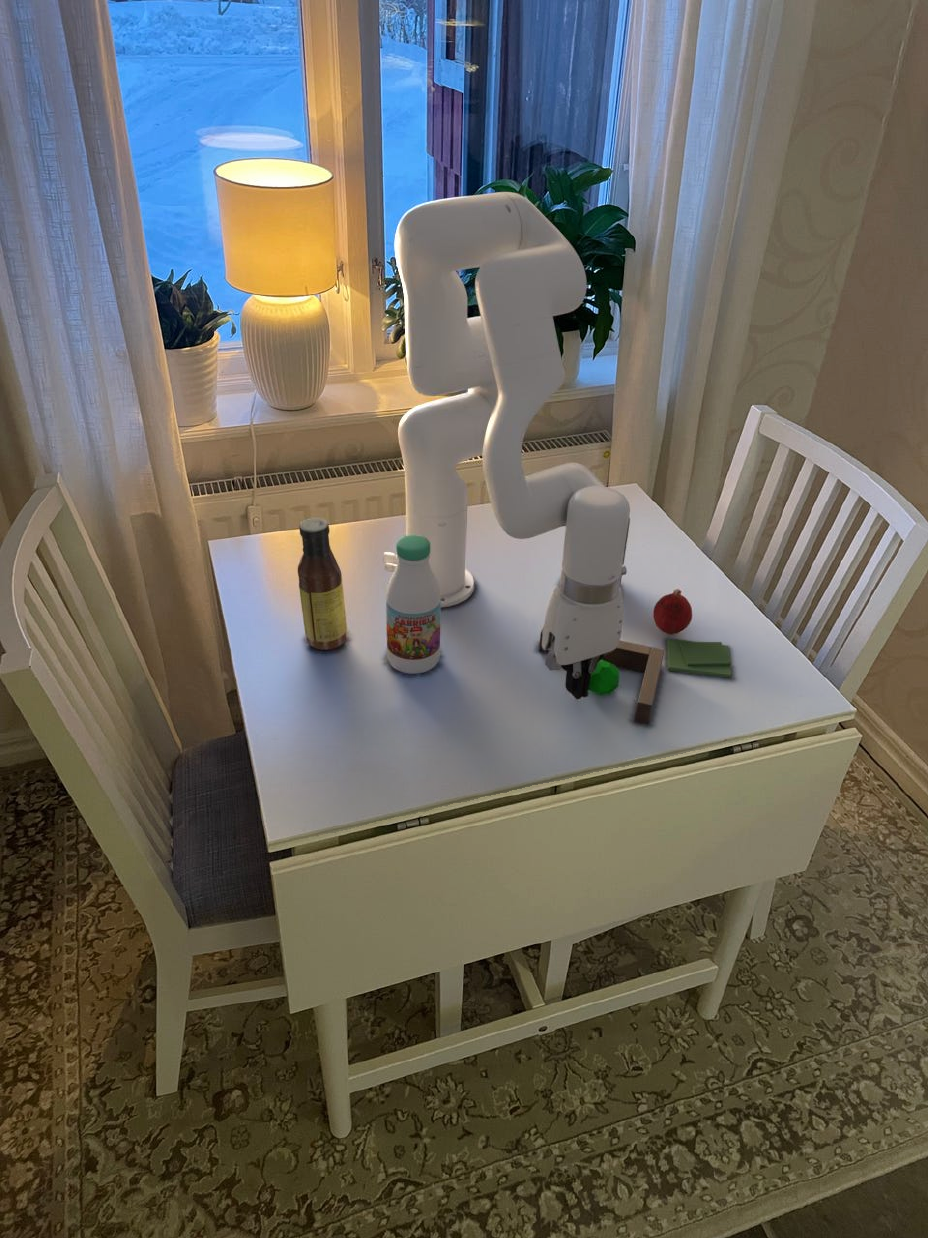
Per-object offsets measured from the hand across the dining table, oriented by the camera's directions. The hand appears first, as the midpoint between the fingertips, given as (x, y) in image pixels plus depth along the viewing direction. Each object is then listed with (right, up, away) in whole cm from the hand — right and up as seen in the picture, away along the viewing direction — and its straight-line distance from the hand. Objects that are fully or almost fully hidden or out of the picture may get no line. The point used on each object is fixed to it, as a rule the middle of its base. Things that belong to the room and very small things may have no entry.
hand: (576, 692), depth 130 cm
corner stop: (+3, +1, +4) cm, 5 cm away
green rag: (+19, +4, +9) cm, 22 cm away
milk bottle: (-23, +4, +7) cm, 25 cm away
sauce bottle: (-36, +7, +11) cm, 39 cm away
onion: (+16, +8, +14) cm, 23 cm away
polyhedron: (+3, 0, +3) cm, 4 cm away
